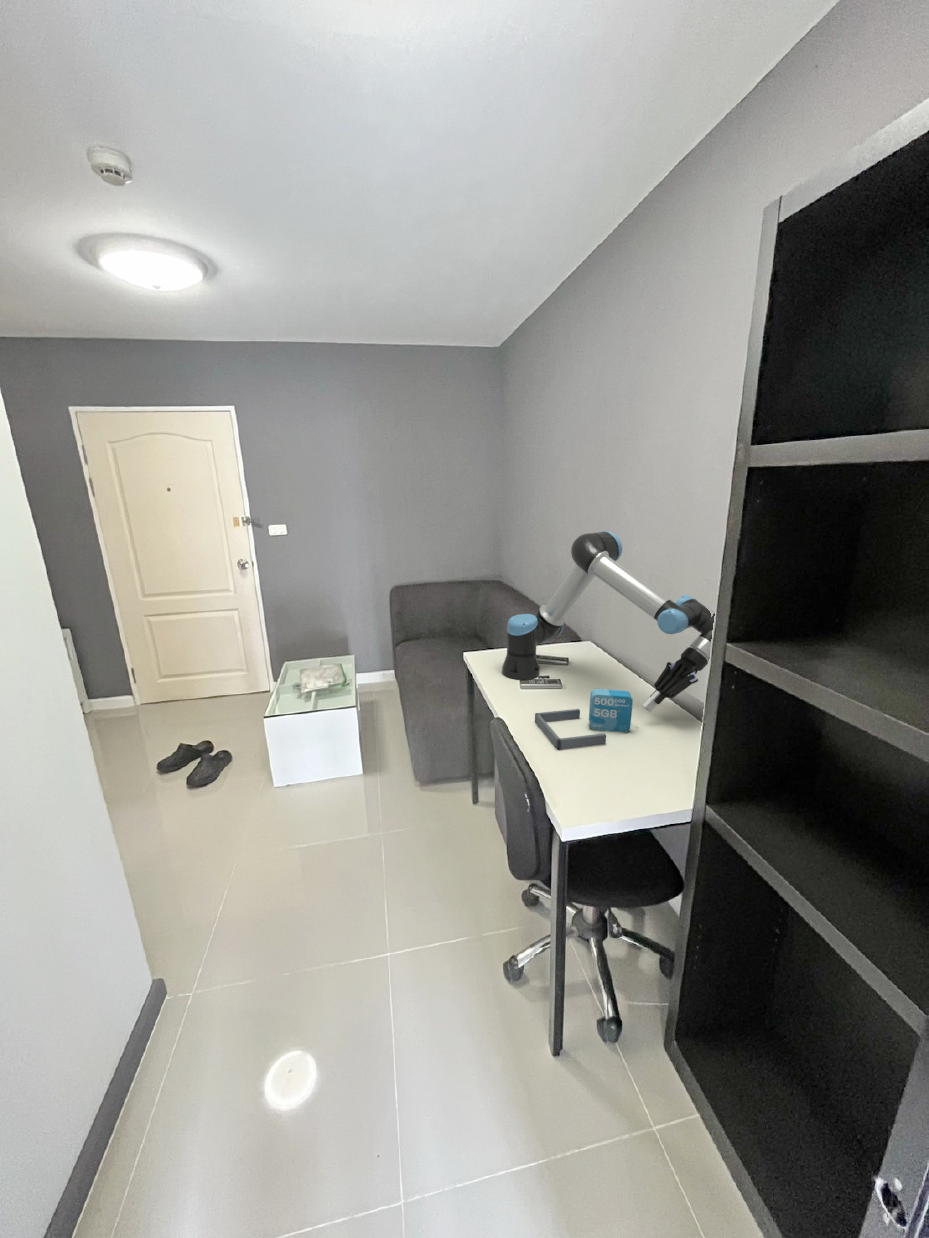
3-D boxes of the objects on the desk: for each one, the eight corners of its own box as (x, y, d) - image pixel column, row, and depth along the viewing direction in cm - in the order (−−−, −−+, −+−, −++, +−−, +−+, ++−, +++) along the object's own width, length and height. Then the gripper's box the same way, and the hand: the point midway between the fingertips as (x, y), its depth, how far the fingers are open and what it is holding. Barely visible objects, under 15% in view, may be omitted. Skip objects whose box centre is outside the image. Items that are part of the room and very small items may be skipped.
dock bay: (534, 721, 155) (535, 713, 154) (578, 717, 158) (578, 708, 157) (557, 750, 138) (558, 740, 137) (605, 744, 141) (606, 734, 140)
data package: (589, 730, 150) (592, 694, 147) (588, 723, 154) (590, 688, 151) (629, 733, 148) (633, 696, 145) (627, 726, 152) (630, 690, 149)
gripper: (720, 668, 147) (665, 724, 147) (691, 655, 159) (641, 707, 159) (706, 653, 144) (651, 710, 145) (678, 640, 156) (628, 693, 157)
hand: (646, 708), depth 152 cm, fingers closed
